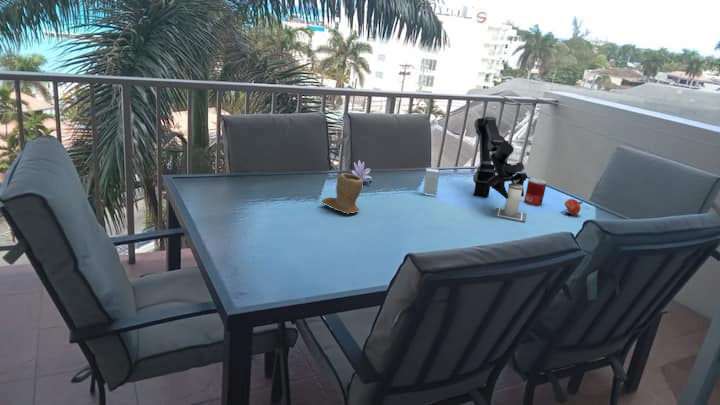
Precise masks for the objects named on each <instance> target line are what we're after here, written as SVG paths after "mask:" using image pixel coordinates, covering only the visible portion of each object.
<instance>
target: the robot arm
mask: <svg viewBox="0 0 720 405" xmlns="http://www.w3.org/2000/svg"><path fill="white" fill-rule="evenodd" d="M473 125H474V129H475V133H476V135H477V136H478V139H479V140H478V141H479V142H478V143H479V145H478V146H479V165H478V167H477V169H476V172H475V173H474V174H473V177H472V181H473V183H474V190H473V194H472V195H473V196H474V197H480V198H485V199H487V198H488V197H489V195H490V190H491V189H493V190H495V191H496V192H497V193H499V194H500V195H501V196H502V197H504V198H505V199H508V198H509V197H508V194H507V193H508V190H507V189H506V186H505V183H506V182H511V183H515V184H520V185H522V186H523V187H524V182H526V180H527V178H528V175H527V173H525V172H523V170H525V165H524V163H523V161H522V162H521V161H519V162H516V163H515V164H512V163H508V161H507V160H508V159H509V157H510V156H511V154H512V153H513V152H514V147H513V145H512V144H511V143H509V141H508V140H506V139H505V137H504V136H502V135H501V134H500V131H499V128H498V124H497V119H496V118H495V117H492V116H484V117H482V118H480V117H478V118H477V119H476V120H475V121H474V124H473ZM491 153H492V154H491ZM522 197H525V194H524V188H523V189H522V194H521V198H522Z"/></svg>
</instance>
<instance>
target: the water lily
mask: <svg viewBox="0 0 720 405" xmlns="http://www.w3.org/2000/svg"><path fill="white" fill-rule="evenodd" d="M353 165H354V169H353V170H351V174H352V175H355V176H358V177H360V178H361V179H362V180H363V182H365V180H364V179H366V178H370V179H372V176H370V175H368V174H370V172H371V168H369V167H368V168H365V161H362V162H361V160H360V159H359V160H358V162H357V163H356V162H353ZM366 180H367V179H366Z"/></svg>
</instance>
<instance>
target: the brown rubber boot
mask: <svg viewBox="0 0 720 405" xmlns="http://www.w3.org/2000/svg"><path fill="white" fill-rule="evenodd" d="M363 182H364V180H363V179H361V178H360V177H358V176H356V175H354V174H353V173H346V172H343V173H341V174H339V175H338V176H337V182H336V197H326V198H324V199H322V200H321V201H320V203H321V202H323V203H325V204H327V205H329V206H331V207H333V208H335V209H337V210H339V211H341V212H345V213H351V212H356V211H358V210H359V211H360V208H359V207H358V206H357V204H356V203H357V202H356V201H357V200H358V198H359V195H360V194H361V192H362V188H363ZM359 211H358V212H359ZM341 212H340V213H341Z"/></svg>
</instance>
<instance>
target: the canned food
mask: <svg viewBox="0 0 720 405" xmlns="http://www.w3.org/2000/svg"><path fill="white" fill-rule="evenodd" d="M547 182H548V181H546V180H544V179H540V178H533V177H532V178H529V179H528V182H527V186H526V190H525V194H524V203H525V204H528V205H531V206H541V205H543V204H542V203H543V201H544V196H545V192H546V187H547Z"/></svg>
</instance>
